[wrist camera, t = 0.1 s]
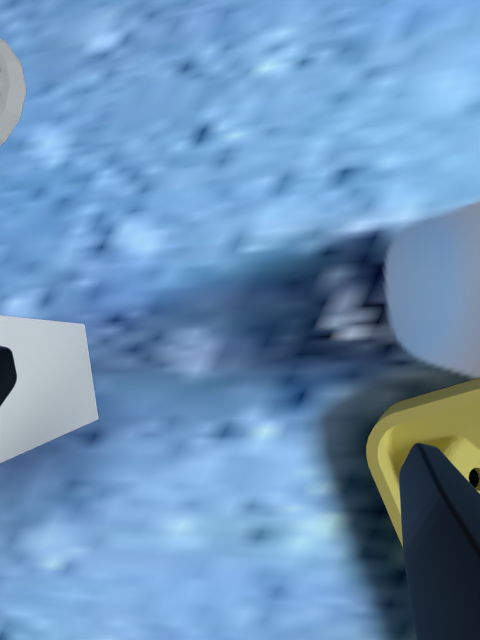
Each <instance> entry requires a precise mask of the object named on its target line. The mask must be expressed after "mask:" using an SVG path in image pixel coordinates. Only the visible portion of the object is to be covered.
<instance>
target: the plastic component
mask: <svg viewBox="0 0 480 640" xmlns="http://www.w3.org/2000/svg"><path fill="white" fill-rule="evenodd" d="M415 443H423V444H427V445H431V446H435V447H437V448H438V449H439V450H440V451H441V452H442V453H443V454H444V455H445V456H446V457H447V458H448V459H449V460H450V462H451V463H452V464H453V465H454V466H455V467H456V468H457V469H458V470H459V471H460V472H461V474H462V475H463V476H464V477H465V478H466V479H467V480H468V481H469V473H470V471H471V470H472V469H473V468H474V469H475V470H476V471H477V473H478V477H479V482H478V486H477V487H475V489H476V490H477V491H478V492H479V493H480V378H477V379H474V380H470V381H467V382H463V383H460V384H457V385H453V386H450V387H447V388H443V389H440V390H436V391H433V392H430V393H426V394H423V395H419V396H416V397H413V398H409V399H406V400H402V401H400V402H397V403H395V404H394V405H392V406H390V407H389V408H388V409H387V410H386V411H385V412H384V413H383V414H382V416H381V417H380V419H379V420H378V422H377V423H376V425H375V426H374V428H373V429H372V431H371V433H370V435H369V437H368V441H367V446H366V457H367V462H368V467H369V469H370V471H371V474H372V476H373V478H374V481H375V483H376V485H377V488H378V490H379V493H380V495H381V497H382V500H383V502H384V504H385V507H386V509H387V511H388V514H389V516H390V519H391V521H392V523H393V526H394V528H395V530H396V533H397V535H398V537H399V540H400V542H401V545H402V547H403V543H402V525H401V507H400V488H399V474H400V469H401V467H402V465H403V463H404V461H405V459H406V457H407V456H408V454H409V452H410V450H411V448H412V446H413V445H414V444H415Z"/></svg>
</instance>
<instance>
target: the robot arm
mask: <svg viewBox="0 0 480 640" xmlns="http://www.w3.org/2000/svg"><path fill="white" fill-rule="evenodd" d="M16 381H17V372H16V367H15V362H14V357H13V353H12V351H11V350H10V349H9V348H8V347H4V346H0V407H1V405H2V404H3V402H4V401H5V399H6V398H7V396H8V395H9V394H10V392H11V391H12V389H13V388H14V386H15V384H16ZM399 488H400V507H401V525H402V543H403V554H404V562H405V569H406V575H407V581H408V587H409V593H410V599H411V605H412V611H413V617H414V624H415V630H416V636H417V640H480V493H479V492H478V491H477V490H476V489H475V488H474V487H473V486H472V485H471V483H470V482H469V481H468V480H467V479H466V478H465V477H464V476H463V475H462V474H461V472H460V471H459V470H458V469H457V468H456V467H455V466H454V465H453V464H452V463H451V462H450V460H449V459H448V458H447V457H446V456H445V455H444V454H443V453H442V452H441V451H440V450H439V449H438V448H437V447H435V446H431V445H427V444H423V443H415V444H414V445H413V446H412V448H411V450H410V452H409V454H408V456H407V457H406V459H405V461H404V463H403V465H402V467H401V469H400V474H399Z"/></svg>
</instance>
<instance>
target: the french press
mask: <svg viewBox="0 0 480 640" xmlns="http://www.w3.org/2000/svg"><path fill="white" fill-rule="evenodd" d="M25 94H26V86H25V81H24V76H23V70H22V65H21V63H20V61H19V60H18V58H17V57H16V55H15V54H14V53H13V51H12V50H11V48H10V47H9V45H8V44H7V42H5V41H3V40H2V39H0V145H2V144H3V143H4V142H5V141H6V140H7V138H8V136H9V135H10V133H11V132H12V130H13V129H14V127H15V126H16V124H17V123H18V121H19V119H20V118H21V113H22V108H23V104H24V99H25Z"/></svg>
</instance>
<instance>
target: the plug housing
mask: <svg viewBox="0 0 480 640" xmlns="http://www.w3.org/2000/svg"><path fill="white" fill-rule="evenodd" d="M0 346H4V347H8V348H9V349H10V350H11V351H12V353H13V357H14V362H15V367H16V372H17V381H16V384H15V386H14V388H13V389H12V391H11V392H10V394H9V395H8V396H7V398H6V399H5V401H4V402H3V404H2V405H1V407H0V463H2V462H4V461H6V460H8V459H11V458H13V457H15V456H17V455H20V454H22V453H24V452H26V451H29V450H31V449H33V448H35V447H37V446H40V445H42V444H44V443H46V442H49V441H51V440H53V439H55V438H58V437H60V436H62V435H64V434H66V433H69V432H71V431H73V430H75V429H78V428H80V427H82V426H84V425H87V424H89V423H91V422H93V421H96V420H98V412H97V405H96V399H95V392H94V385H93V378H92V372H91V365H90V358H89V351H88V345H87V338H86V331H85V324H78V323H68V322H58V321H49V320H39V319H30V318H20V317H10V316H1V315H0Z"/></svg>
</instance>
